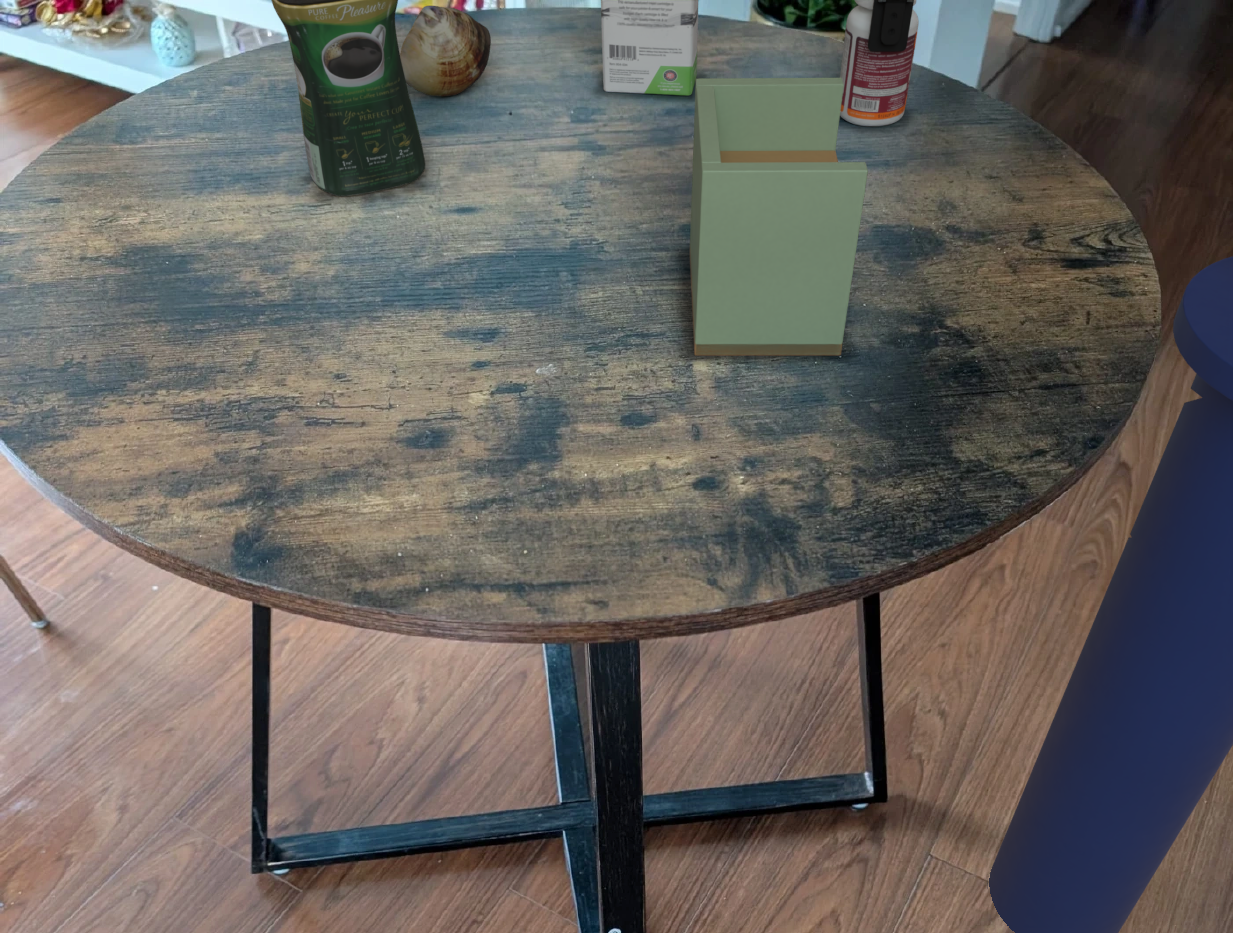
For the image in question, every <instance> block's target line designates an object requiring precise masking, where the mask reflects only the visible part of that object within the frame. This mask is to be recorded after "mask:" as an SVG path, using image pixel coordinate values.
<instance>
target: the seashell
mask: <svg viewBox="0 0 1233 933" xmlns="http://www.w3.org/2000/svg"><path fill="white" fill-rule="evenodd" d="M491 38H492V37H491V33H490V31H489V29H488V28H487V26H485V25H483V24H482V23H481V22H479V21H477V20H476V19H475V18H474V17H473V16H471V15H470V14H469V13H467V12H464V11H462V10H460V9H458V8H455V7H446V6H438V5H424V6H423V7H422V8H421V10H420V11H419V12H418V14H417V17H416V18H415V20H414V22H413V24H412V26H411V28H410V29H409V32H408V33H407V35H406V36H405V38H404V40H403V42H402V45H401V47H400V57H401V62H402V67H403V71H404V75H405V80H406V84H407V86H409V87H411V88H413V89H414V90H415V91H417V92H420V93H421V94H424V95H427V96H431V97H432V96H433V97H451V96H455V95H456V96H457V95H458V94H461V93H462V92H465V91H466V90H467V89H468V88H469V87H471V86H472V85H474V84H475V83H476V82H477V81H478V80H479V79H480V78H481V76H482V75H483V73H484V71H485V69H486V67H487V66H488V61H489V58H490V53H491V44H492V40H491Z"/></svg>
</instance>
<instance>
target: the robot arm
mask: <svg viewBox="0 0 1233 933" xmlns="http://www.w3.org/2000/svg"><path fill="white" fill-rule="evenodd" d="M913 4H914V0H874V3H873V10H872V18H871V25H870V32H869V39H868V48H869V50H870V51H871V52H902V51H904V50H905V49H906V47H907V41H908V35H909V29H910V22H911V16H912V10H914V6H913Z"/></svg>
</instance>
